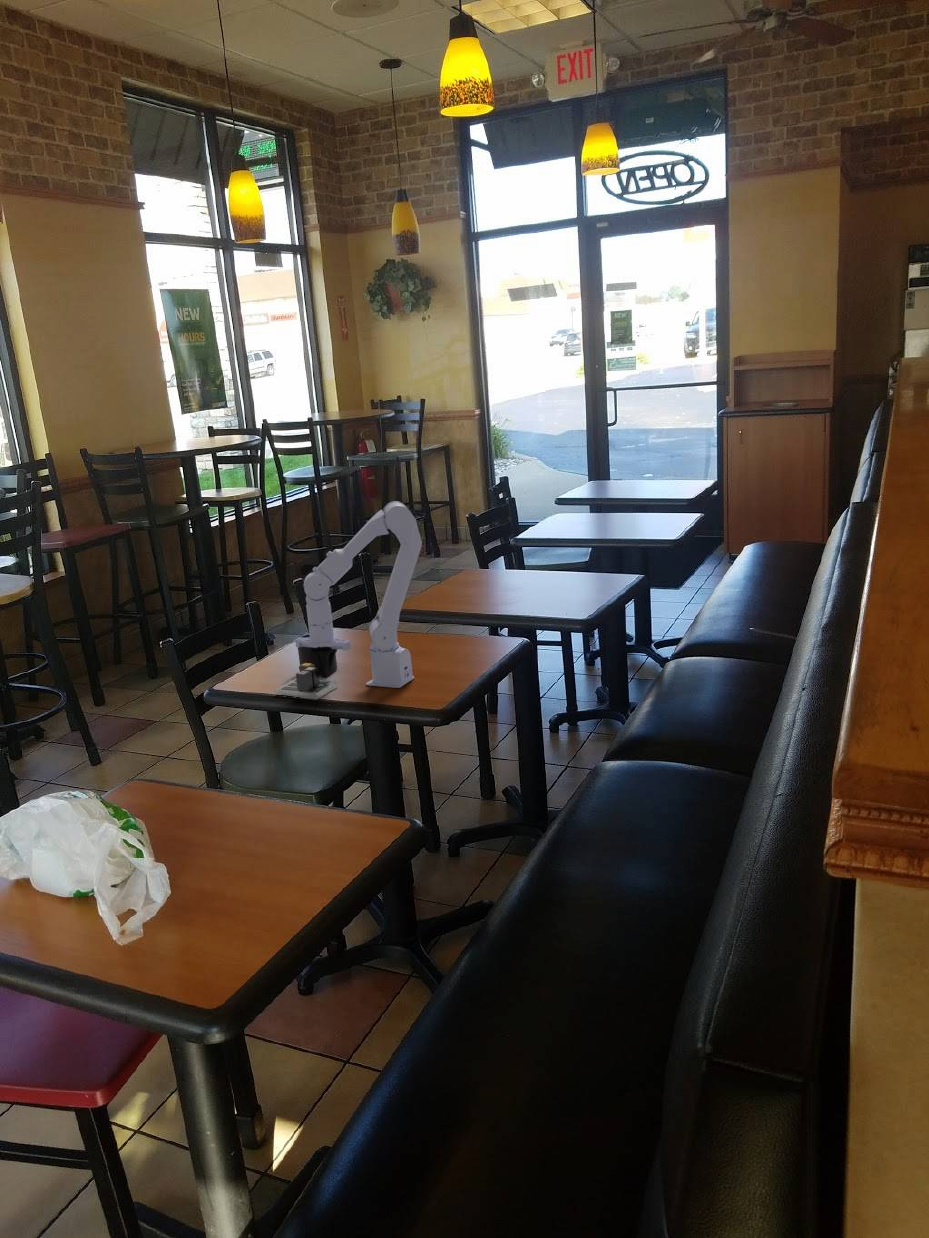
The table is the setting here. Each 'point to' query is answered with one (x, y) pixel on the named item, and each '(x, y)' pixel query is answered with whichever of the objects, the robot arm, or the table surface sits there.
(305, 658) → the mug
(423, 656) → the table surface
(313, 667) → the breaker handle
